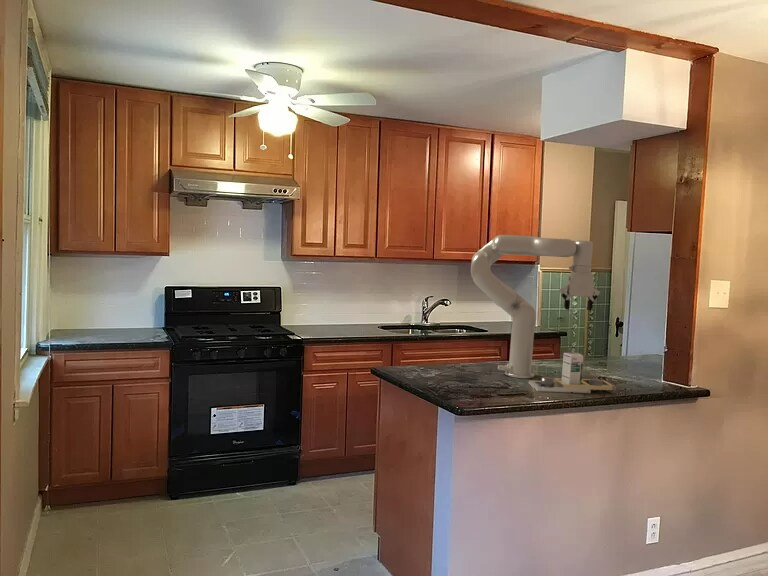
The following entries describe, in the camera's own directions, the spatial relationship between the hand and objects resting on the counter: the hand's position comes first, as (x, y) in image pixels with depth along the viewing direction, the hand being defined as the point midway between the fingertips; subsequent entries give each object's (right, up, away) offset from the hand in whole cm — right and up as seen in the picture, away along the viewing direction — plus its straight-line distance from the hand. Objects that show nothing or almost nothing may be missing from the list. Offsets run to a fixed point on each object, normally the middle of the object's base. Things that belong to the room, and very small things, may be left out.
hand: (578, 309), depth 263 cm
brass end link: (-2, -32, -14) cm, 35 cm away
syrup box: (-8, -32, -14) cm, 35 cm away
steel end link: (-12, -31, -15) cm, 37 cm away
